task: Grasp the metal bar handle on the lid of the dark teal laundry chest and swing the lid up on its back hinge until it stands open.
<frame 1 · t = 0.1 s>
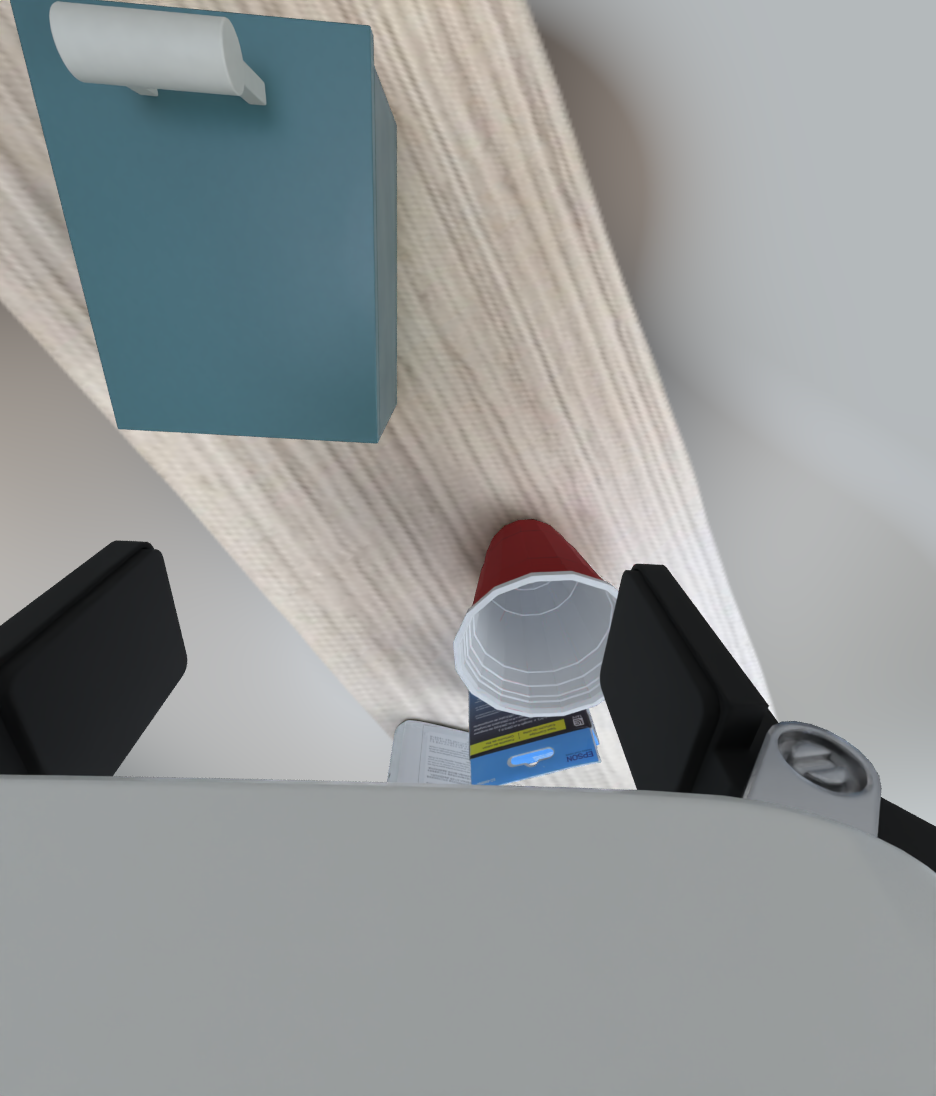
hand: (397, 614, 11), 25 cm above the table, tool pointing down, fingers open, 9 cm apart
chest: (288, 272, 30), on the table
photo printer: (447, 739, 48), on the table
label tape box: (521, 666, 44), on the table
lid: (206, 255, 20), point 11 cm above the table, hinge at 0.0°
plastic cup: (524, 553, 39), on the table
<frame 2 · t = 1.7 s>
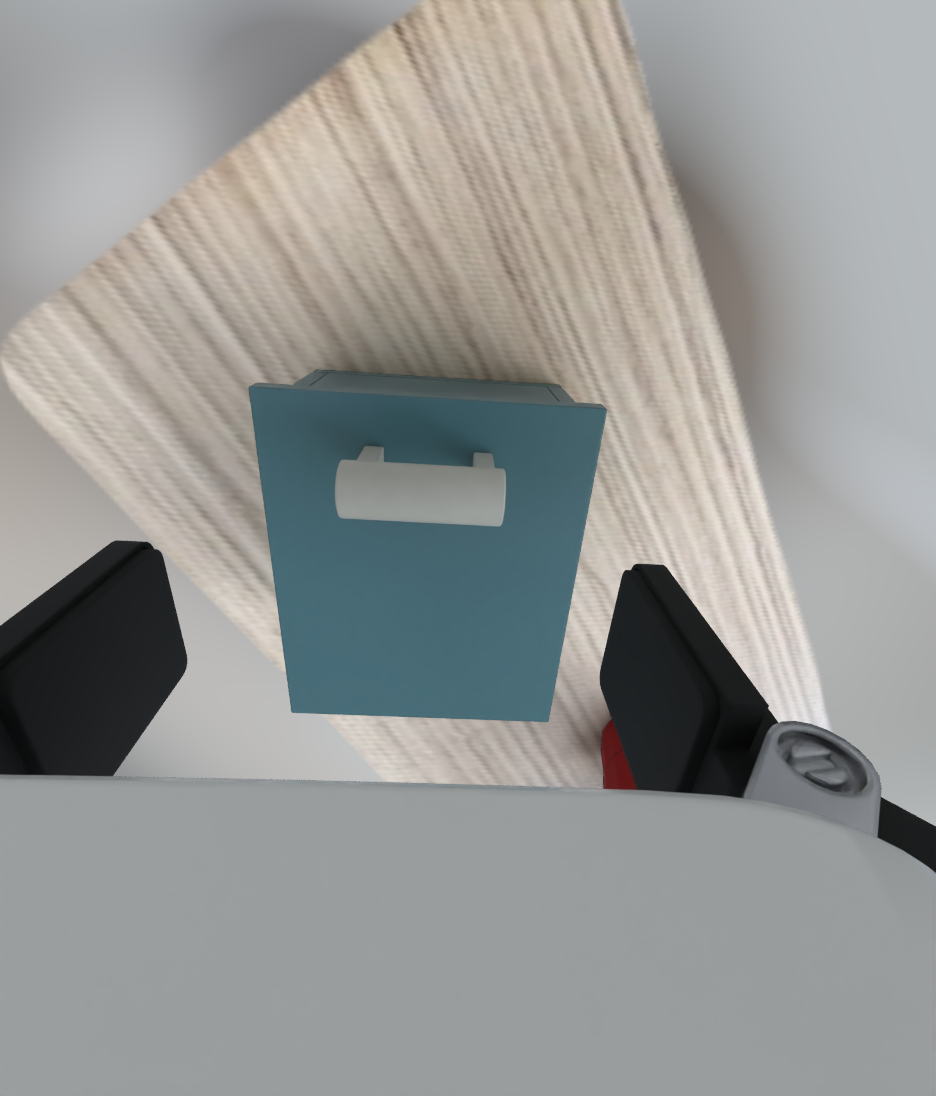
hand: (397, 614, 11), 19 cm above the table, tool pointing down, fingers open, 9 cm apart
chest: (434, 507, 30), on the table
lid: (422, 609, 20), point 11 cm above the table, hinge at 0.0°
plastic cup: (636, 734, 39), on the table
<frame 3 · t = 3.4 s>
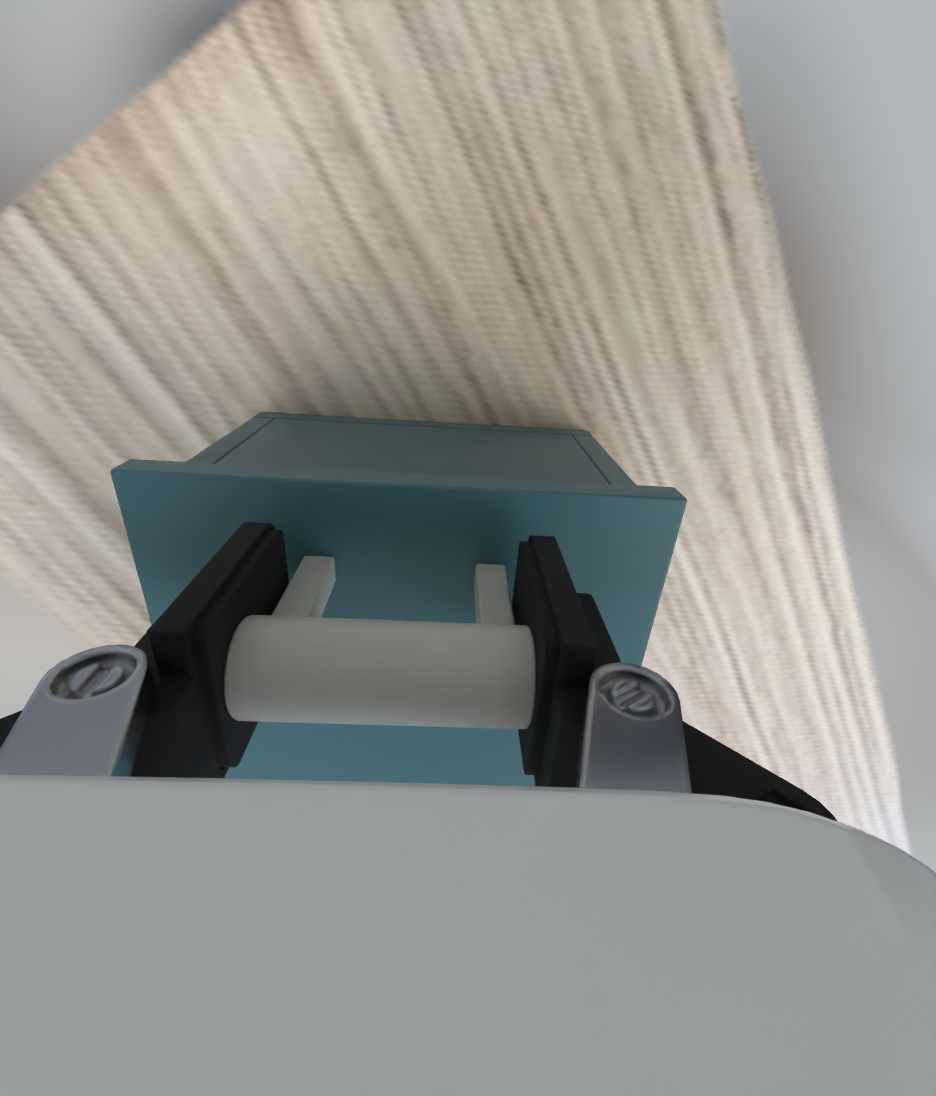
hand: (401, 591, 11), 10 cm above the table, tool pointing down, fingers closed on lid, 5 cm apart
chest: (422, 583, 23), on the table
lid: (398, 793, 13), point 11 cm above the table, hinge at 0.0°, touching gripper
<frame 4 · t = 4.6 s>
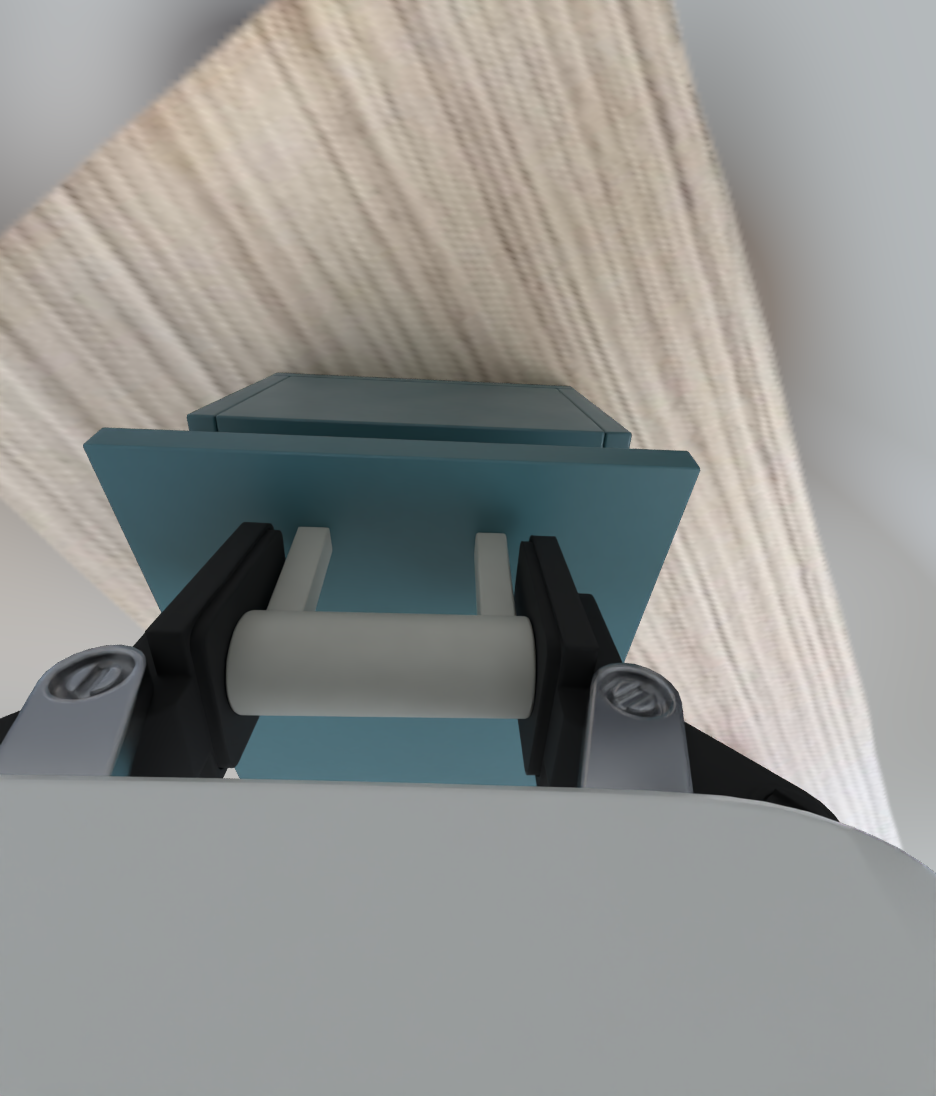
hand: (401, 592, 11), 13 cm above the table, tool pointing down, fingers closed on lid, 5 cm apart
chest: (424, 534, 25), on the table
lid: (403, 739, 14), point 13 cm above the table, hinge at 13.1°, touching gripper
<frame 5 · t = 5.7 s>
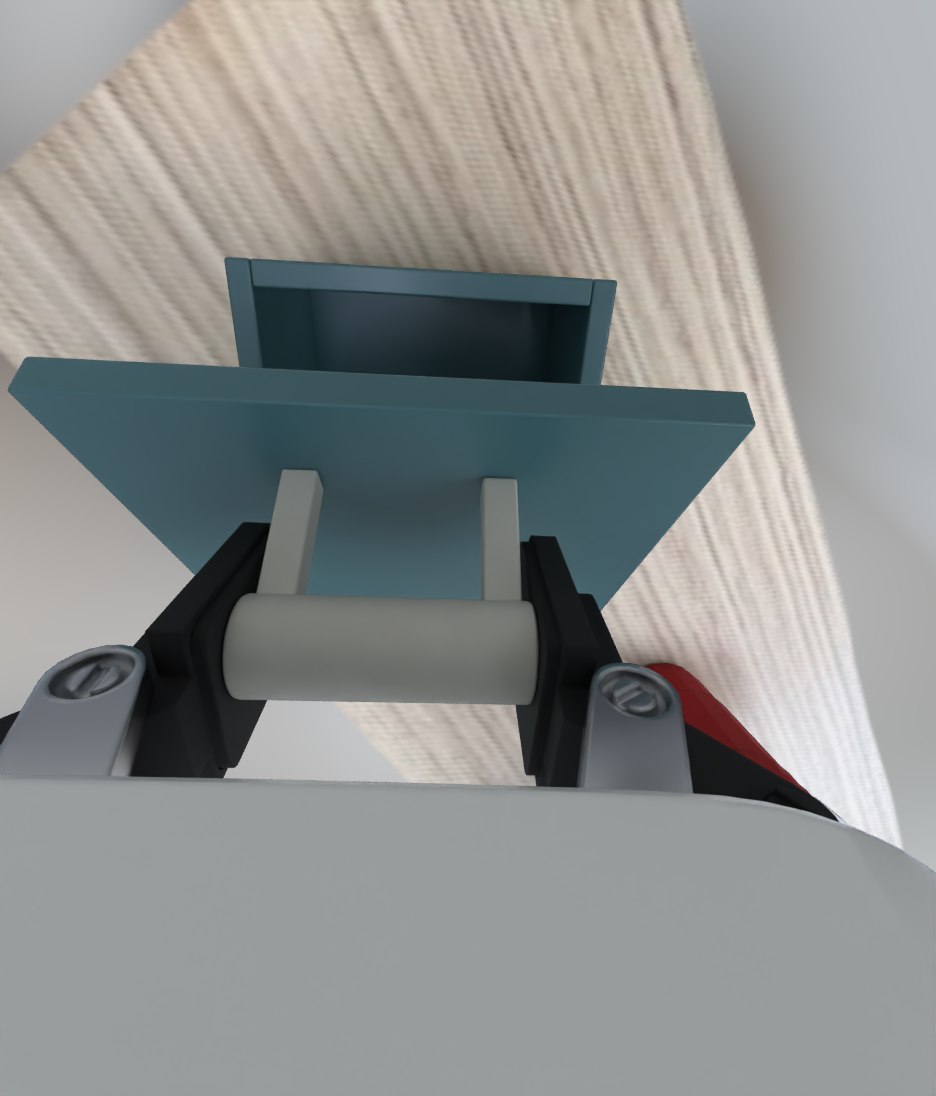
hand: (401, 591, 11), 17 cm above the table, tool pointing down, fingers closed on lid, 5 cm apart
chest: (429, 431, 27), on the table
lid: (408, 644, 15), point 15 cm above the table, hinge at 36.1°, touching gripper
plastic cup: (652, 695, 36), on the table
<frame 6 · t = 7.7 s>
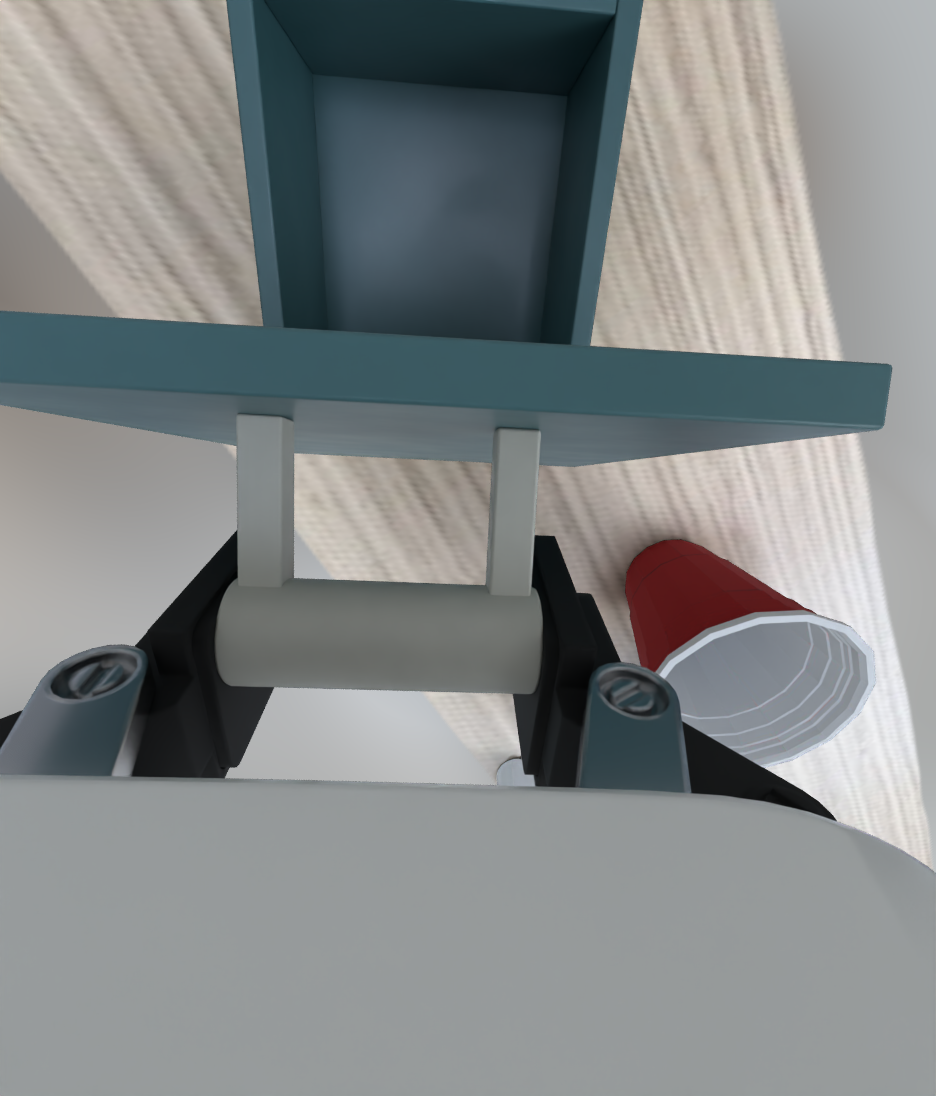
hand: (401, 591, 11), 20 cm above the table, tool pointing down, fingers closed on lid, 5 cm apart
chest: (437, 259, 26), on the table
photo printer: (552, 777, 44), on the table
lid: (412, 514, 14), point 17 cm above the table, hinge at 70.3°, touching gripper
plastic cup: (664, 577, 35), on the table
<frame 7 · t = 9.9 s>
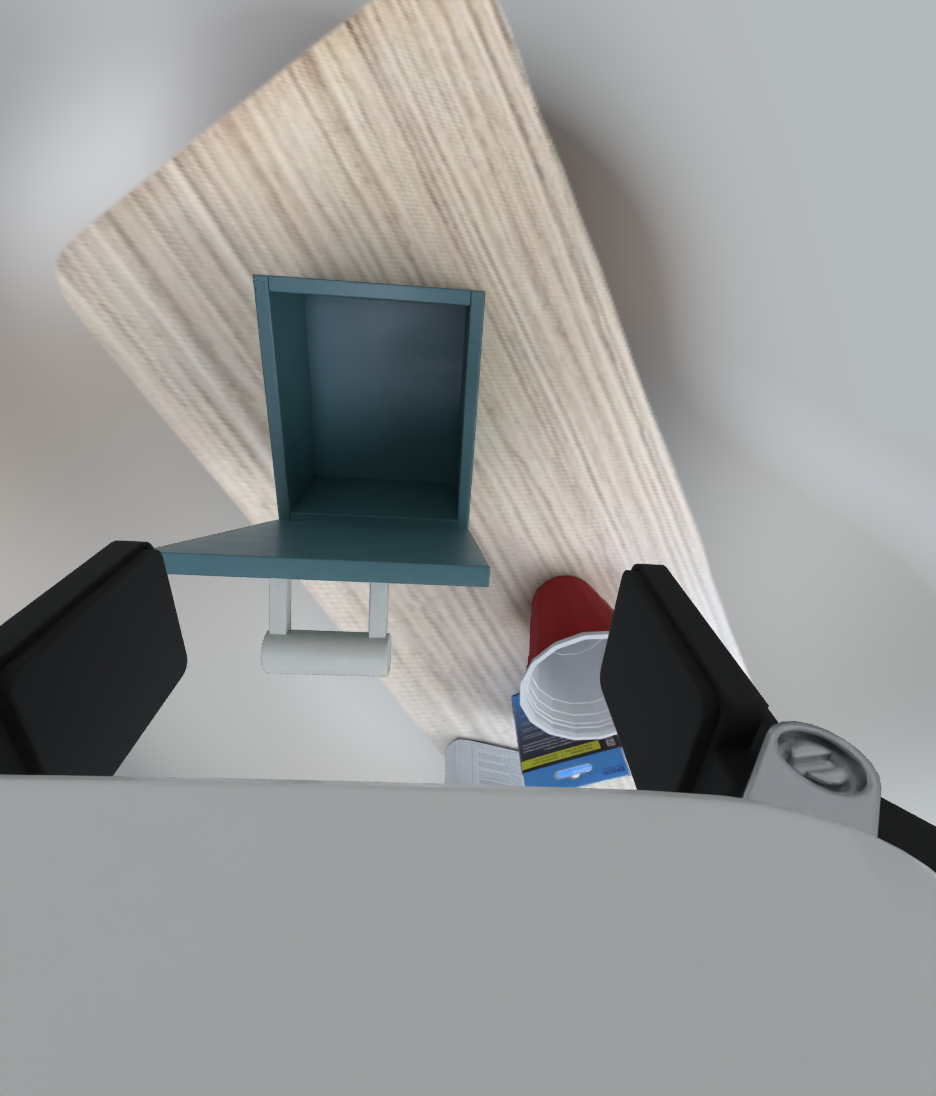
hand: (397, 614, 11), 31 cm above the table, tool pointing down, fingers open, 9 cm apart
chest: (387, 393, 38), on the table
photo printer: (490, 754, 56), on the table
label tape box: (555, 693, 52), on the table
lid: (352, 586, 27), point 17 cm above the table, hinge at 70.8°
plastic cup: (561, 602, 48), on the table
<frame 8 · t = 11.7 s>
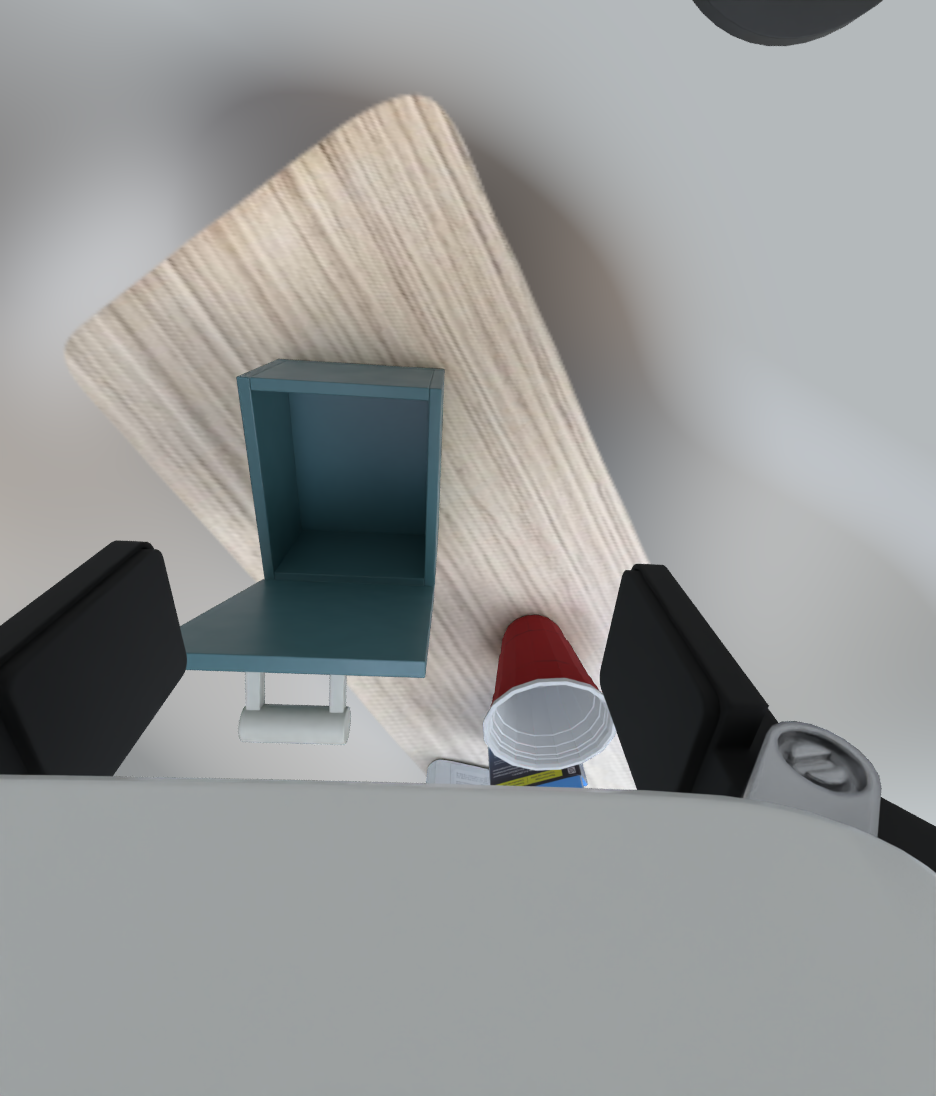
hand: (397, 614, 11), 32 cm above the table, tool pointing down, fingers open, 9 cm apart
chest: (364, 456, 42), on the table
photo printer: (469, 773, 60), on the table
label tape box: (528, 718, 56), on the table
lid: (323, 652, 30), point 17 cm above the table, hinge at 70.8°
plastic cup: (531, 638, 51), on the table
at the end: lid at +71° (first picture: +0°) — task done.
